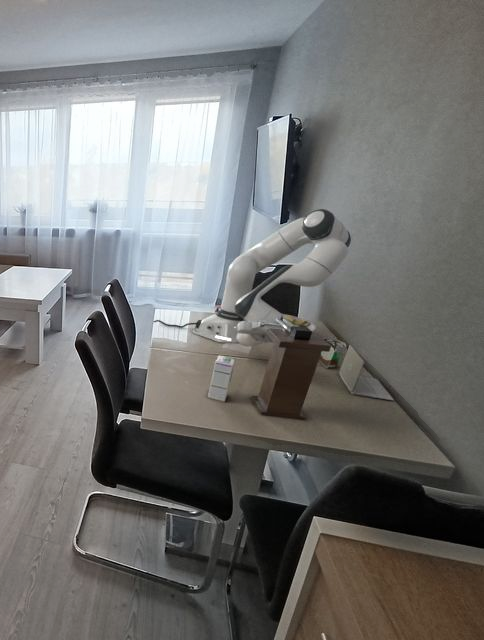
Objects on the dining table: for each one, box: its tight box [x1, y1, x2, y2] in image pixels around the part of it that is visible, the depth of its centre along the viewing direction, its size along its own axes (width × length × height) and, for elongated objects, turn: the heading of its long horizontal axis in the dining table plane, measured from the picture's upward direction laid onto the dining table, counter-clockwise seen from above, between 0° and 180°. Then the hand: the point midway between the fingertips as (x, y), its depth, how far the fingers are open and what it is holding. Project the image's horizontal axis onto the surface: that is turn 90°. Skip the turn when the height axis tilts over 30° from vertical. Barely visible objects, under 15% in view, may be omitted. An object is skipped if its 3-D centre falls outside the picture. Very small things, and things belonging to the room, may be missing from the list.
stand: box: [250, 328, 331, 421], centre depth 135 cm, size 12×14×26 cm
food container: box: [318, 336, 348, 370], centre depth 172 cm, size 12×6×10 cm, turn 168°
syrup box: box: [207, 355, 236, 402], centre depth 144 cm, size 6×6×14 cm
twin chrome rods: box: [276, 318, 312, 340], centre depth 135 cm, size 18×4×3 cm, turn 168°
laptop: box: [338, 344, 394, 401], centre depth 153 cm, size 18×12×13 cm
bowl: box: [281, 313, 317, 333], centre depth 209 cm, size 30×30×8 cm
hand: (276, 325), depth 147 cm, fingers open, 8 cm apart
